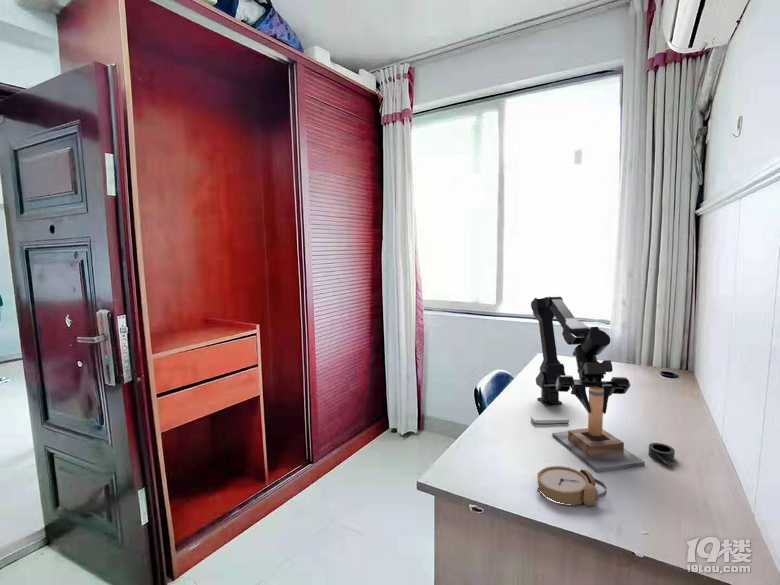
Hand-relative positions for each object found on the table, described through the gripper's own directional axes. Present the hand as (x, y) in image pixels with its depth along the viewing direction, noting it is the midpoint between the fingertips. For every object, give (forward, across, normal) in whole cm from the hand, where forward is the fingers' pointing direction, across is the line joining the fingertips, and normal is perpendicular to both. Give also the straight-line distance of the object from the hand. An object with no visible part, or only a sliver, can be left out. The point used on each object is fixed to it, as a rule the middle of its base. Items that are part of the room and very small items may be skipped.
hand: (597, 412), depth 109 cm
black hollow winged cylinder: (+9, +16, +8) cm, 20 cm away
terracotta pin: (+4, 0, +6) cm, 7 cm away
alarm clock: (+23, -11, -6) cm, 26 cm away
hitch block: (+7, 0, +9) cm, 12 cm away
